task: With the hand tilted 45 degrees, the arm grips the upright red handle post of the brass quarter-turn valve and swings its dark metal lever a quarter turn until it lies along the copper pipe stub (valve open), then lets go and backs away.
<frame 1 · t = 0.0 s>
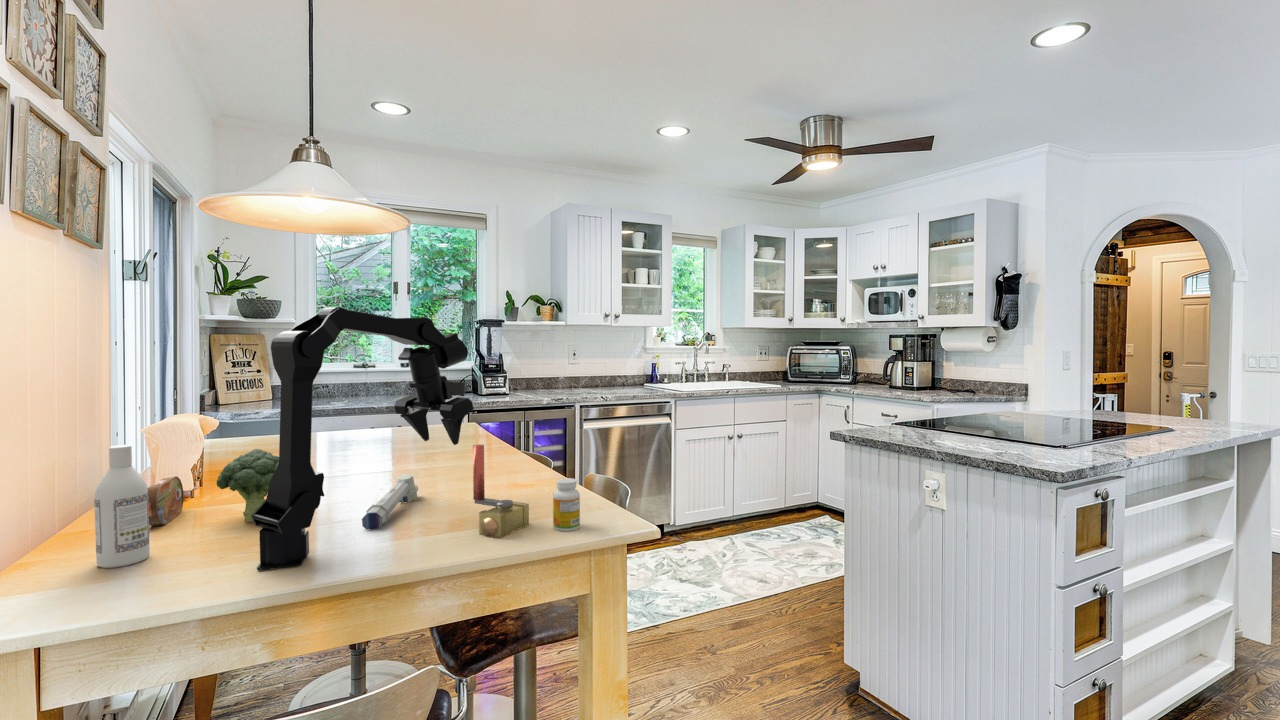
hand: (441, 442, 131), 15 cm above the table, tool pointing down, fingers open, 9 cm apart
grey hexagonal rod: (392, 513, 132), on the table
supplement bottle: (566, 528, 121), on the table
lever: (492, 476, 120), point 11 cm above the table, hinge at 0.0°
valve: (504, 529, 120), on the table
tin: (164, 520, 126), on the table
bath foam: (123, 562, 102), on the table
vegetable: (254, 521, 125), on the table
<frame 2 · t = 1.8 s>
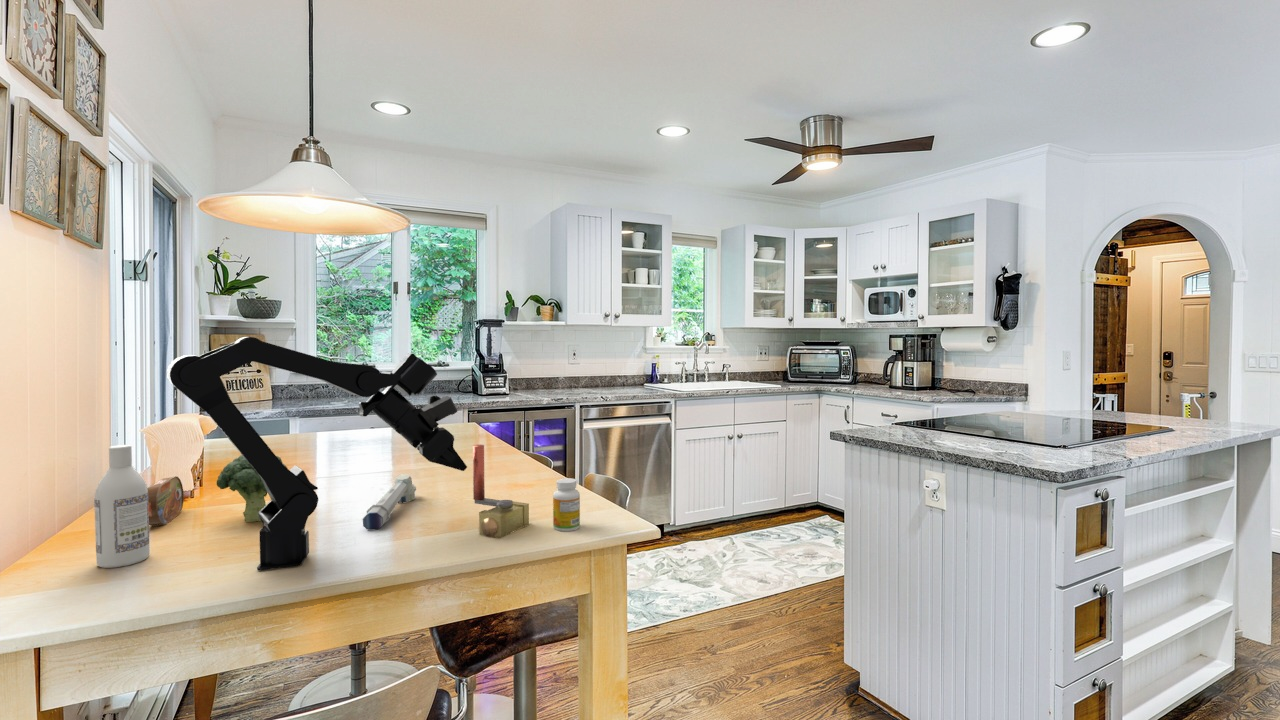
hand: (459, 464, 120), 13 cm above the table, tool tilted 45°, fingers open, 9 cm apart
nothing on the table moved.
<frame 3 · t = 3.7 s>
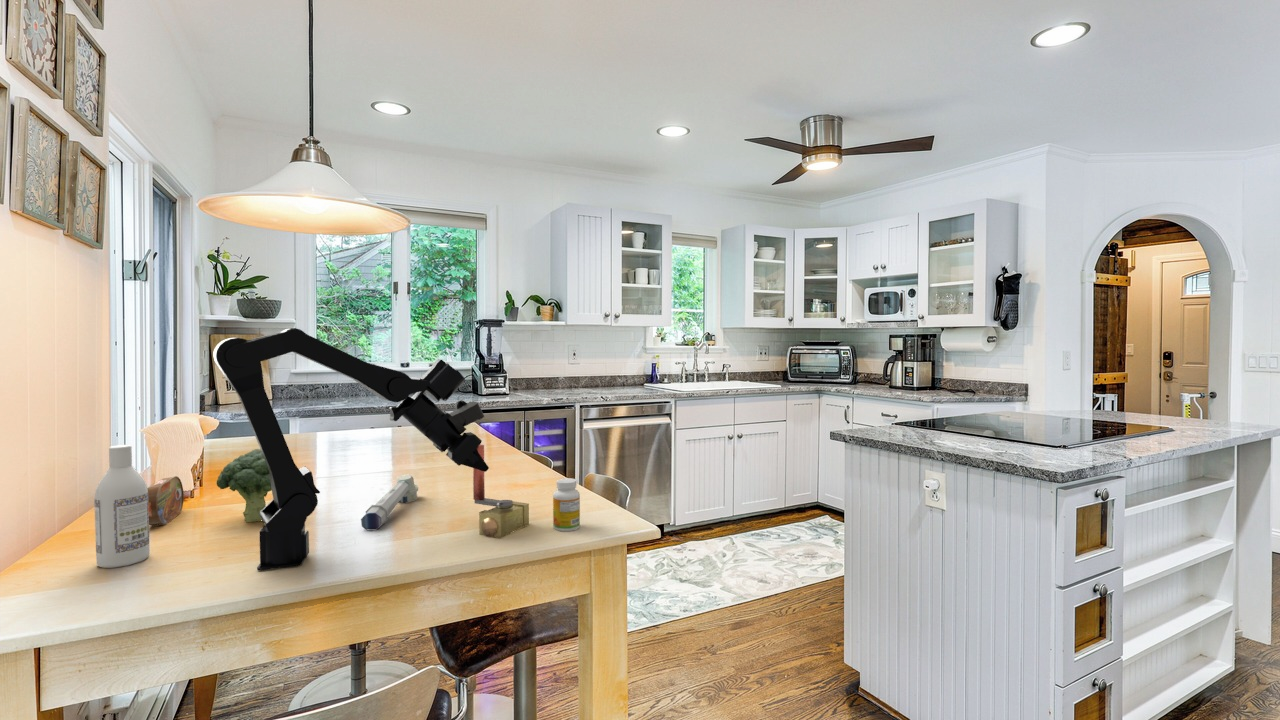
hand: (485, 468, 123), 12 cm above the table, tool tilted 45°, fingers closed on lever, 2 cm apart
lever: (492, 476, 120), point 11 cm above the table, hinge at 0.0°, touching gripper
everything else where it was.
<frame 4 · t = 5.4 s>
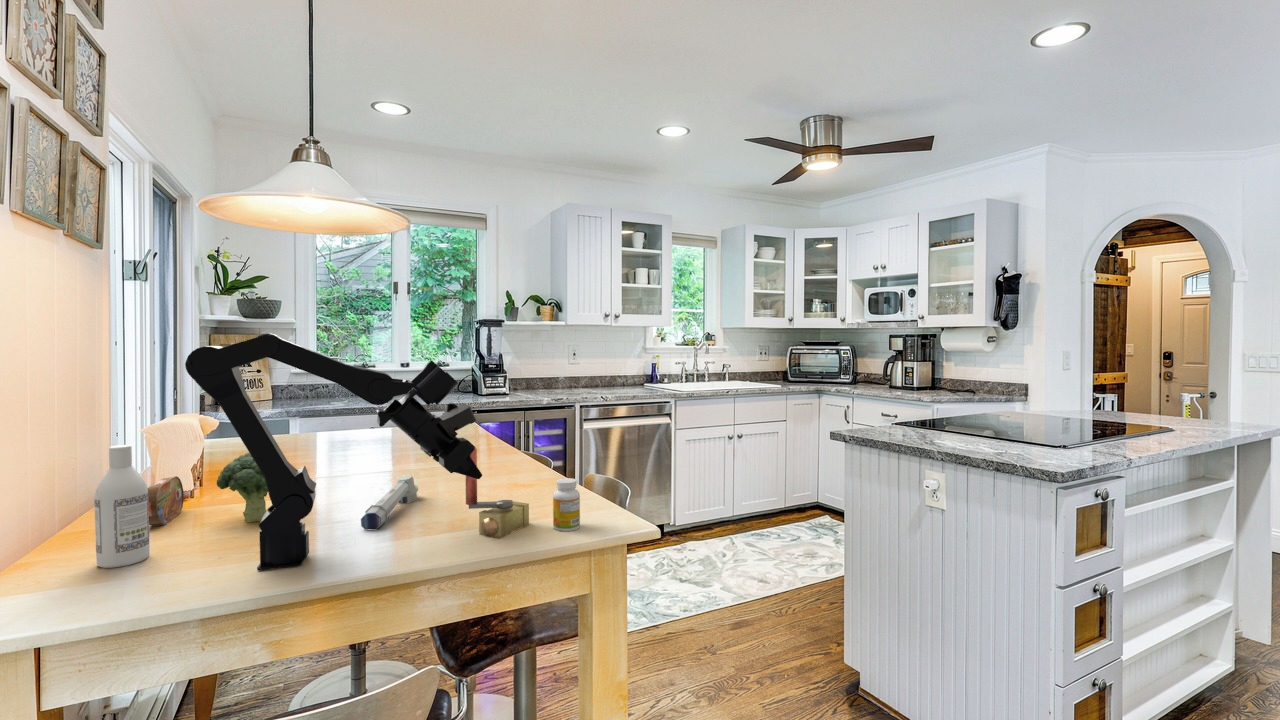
hand: (476, 474, 118), 12 cm above the table, tool tilted 45°, fingers open, 5 cm apart
lever: (489, 477, 119), point 11 cm above the table, hinge at 31.4°, touching gripper
everything else where it was.
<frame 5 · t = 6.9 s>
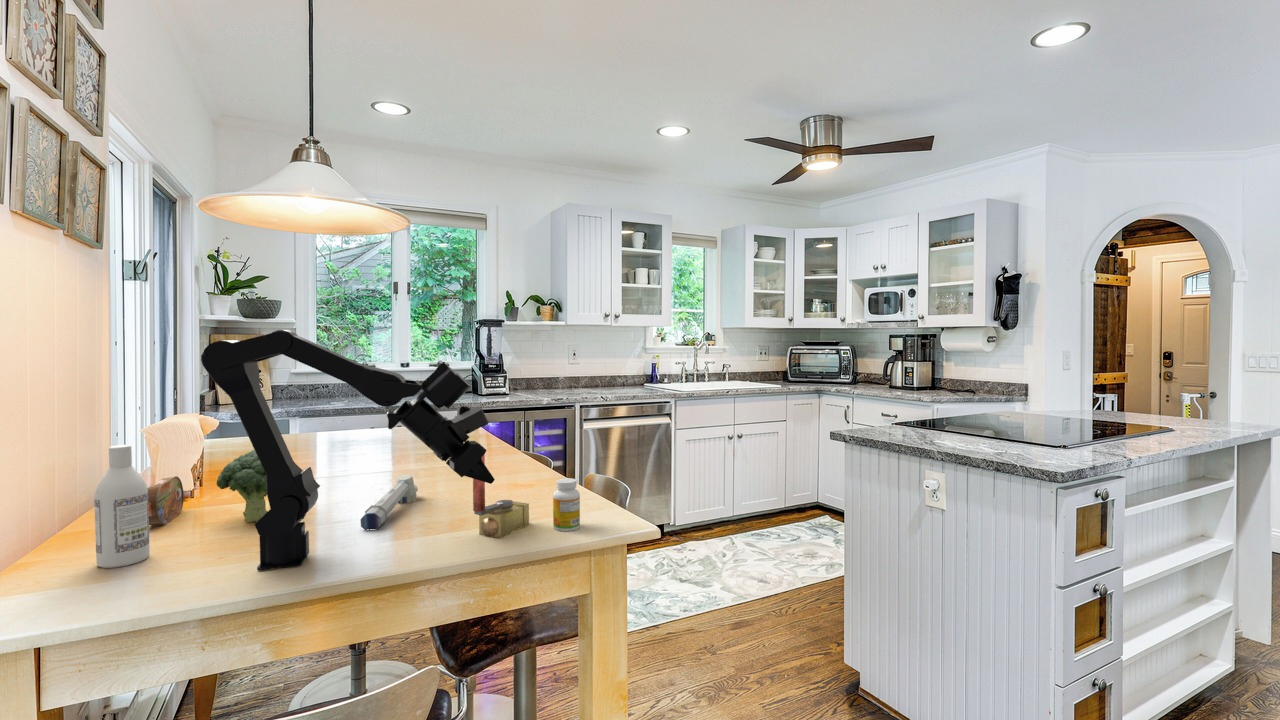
hand: (489, 479, 114), 11 cm above the table, tool tilted 45°, fingers open, 4 cm apart
lever: (492, 480, 117), point 11 cm above the table, hinge at 80.7°
everything else where it was.
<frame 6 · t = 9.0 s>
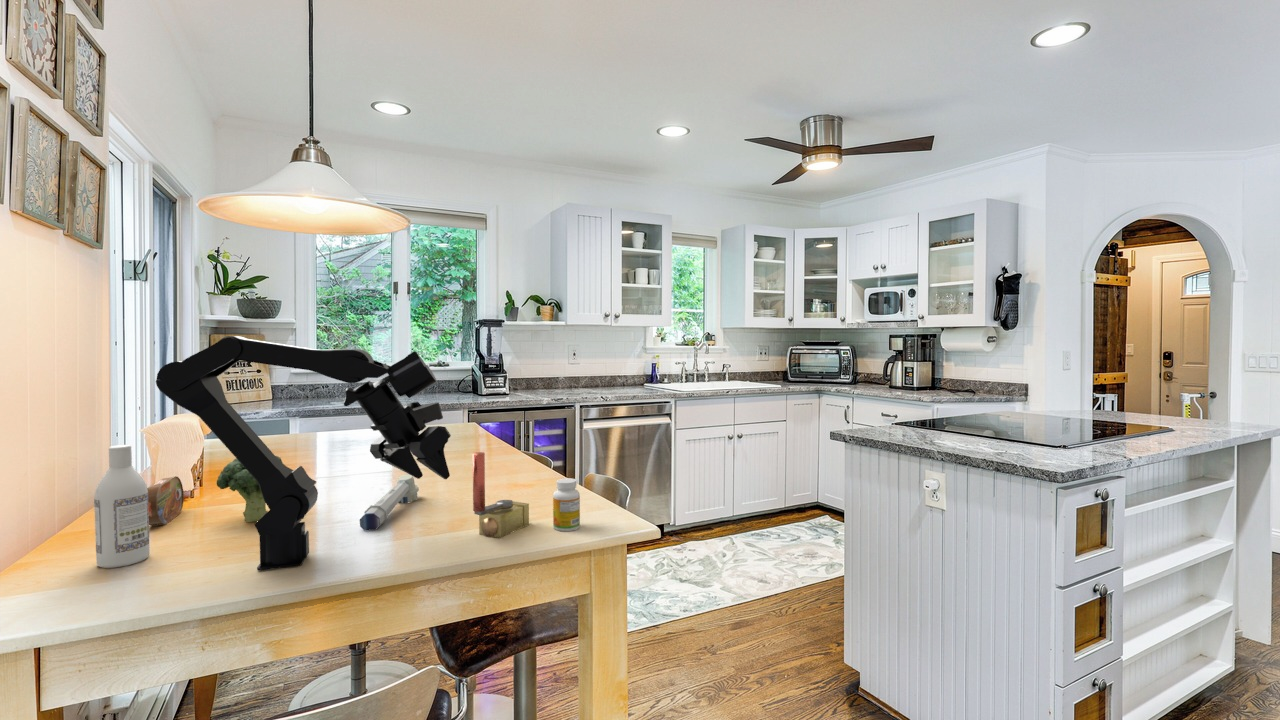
hand: (433, 477, 112), 12 cm above the table, tool tilted 35°, fingers open, 9 cm apart
nothing on the table moved.
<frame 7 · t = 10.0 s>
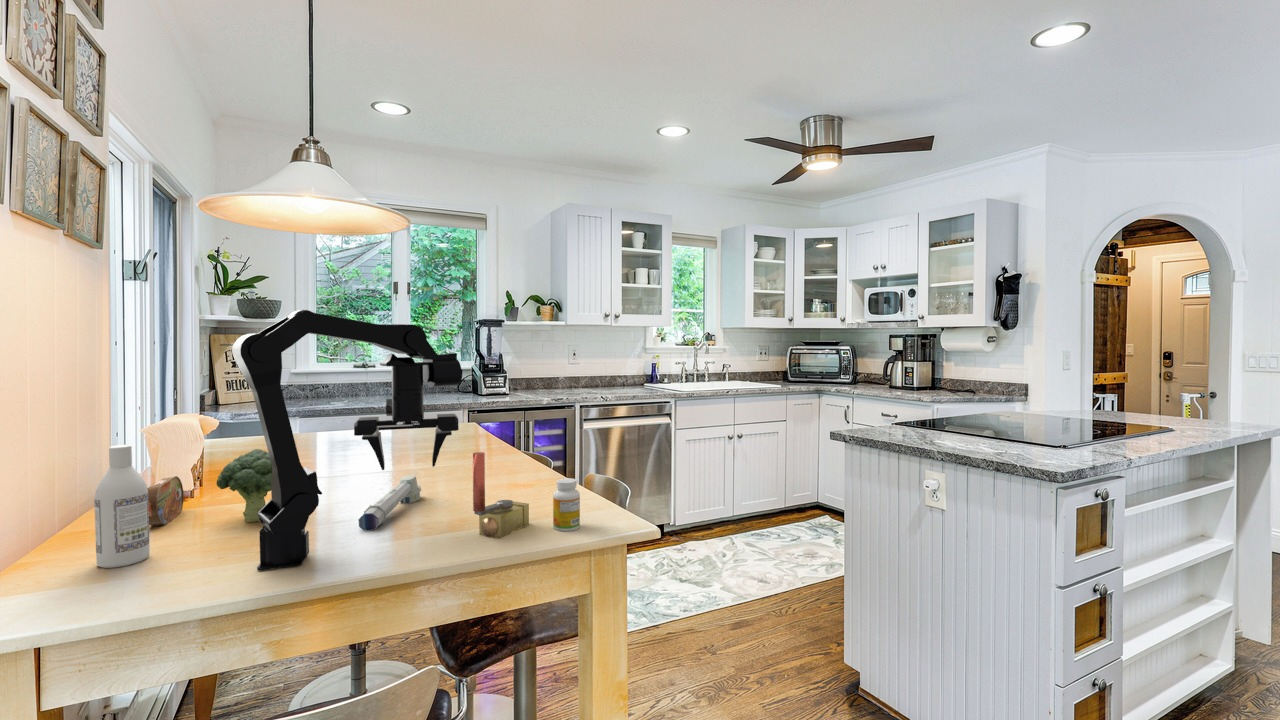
hand: (408, 467, 117), 13 cm above the table, tool pointing down, fingers open, 9 cm apart
nothing on the table moved.
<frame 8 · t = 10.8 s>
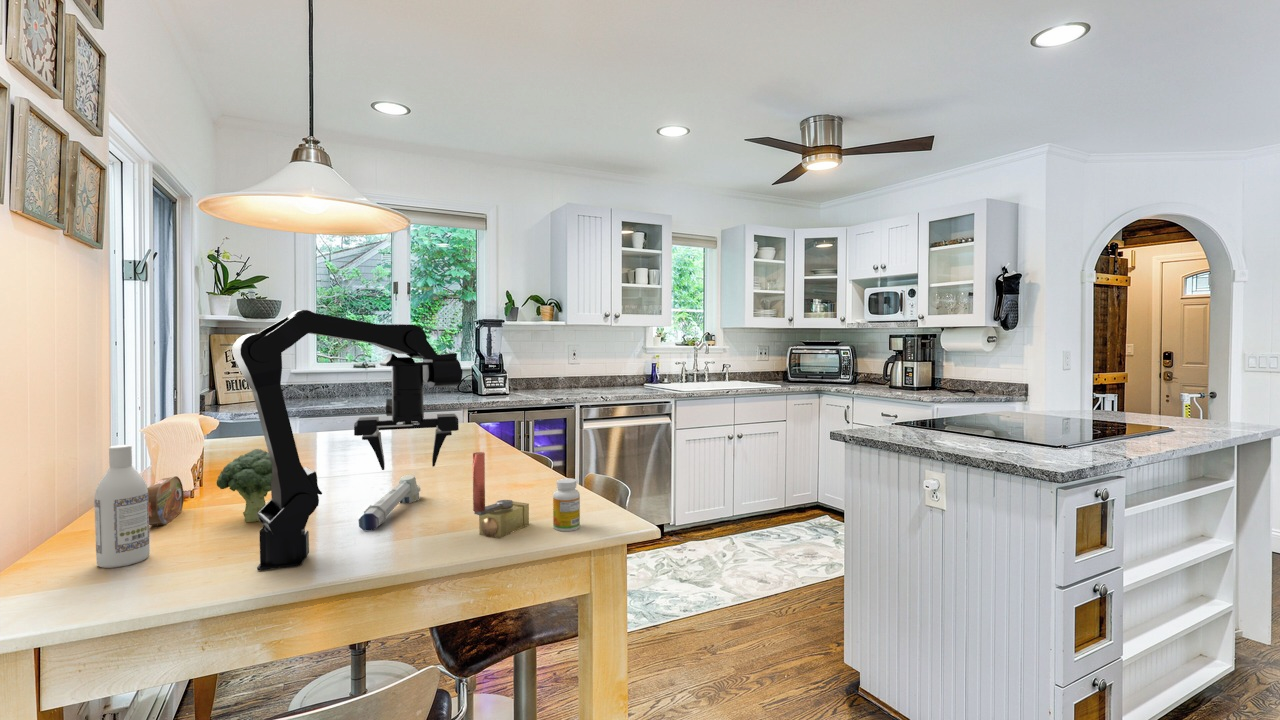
hand: (408, 467, 117), 13 cm above the table, tool pointing down, fingers open, 9 cm apart
nothing on the table moved.
at the end: lever at +81° (first picture: +0°); the gripper is holding nothing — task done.
